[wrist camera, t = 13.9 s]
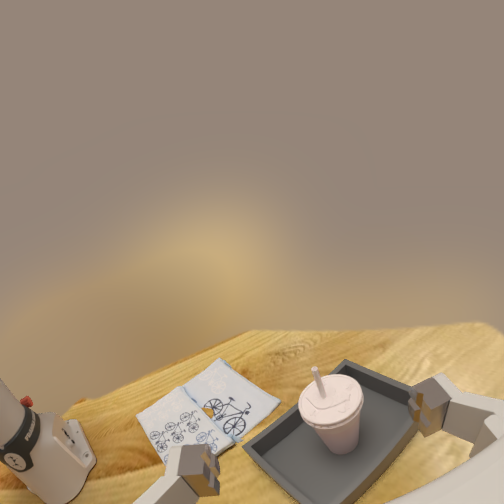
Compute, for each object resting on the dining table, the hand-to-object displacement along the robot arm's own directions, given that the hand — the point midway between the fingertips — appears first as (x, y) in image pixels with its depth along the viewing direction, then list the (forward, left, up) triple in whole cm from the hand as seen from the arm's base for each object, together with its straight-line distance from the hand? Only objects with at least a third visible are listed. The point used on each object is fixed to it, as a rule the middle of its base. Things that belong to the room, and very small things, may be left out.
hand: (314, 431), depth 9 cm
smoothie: (-10, +7, -23) cm, 26 cm away
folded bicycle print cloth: (-30, -3, -24) cm, 38 cm away
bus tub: (-10, +7, -23) cm, 26 cm away
